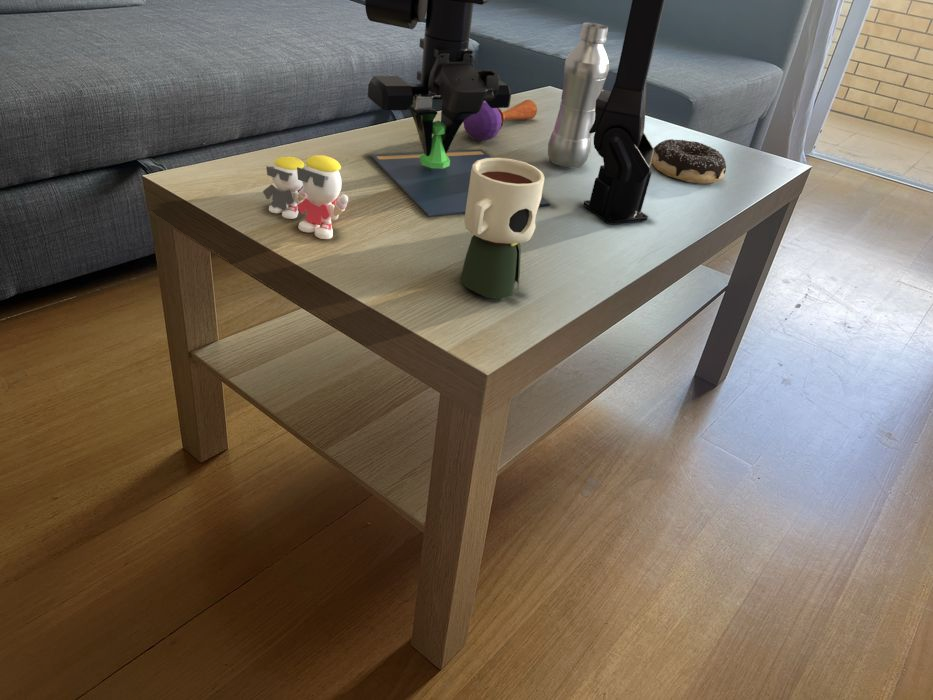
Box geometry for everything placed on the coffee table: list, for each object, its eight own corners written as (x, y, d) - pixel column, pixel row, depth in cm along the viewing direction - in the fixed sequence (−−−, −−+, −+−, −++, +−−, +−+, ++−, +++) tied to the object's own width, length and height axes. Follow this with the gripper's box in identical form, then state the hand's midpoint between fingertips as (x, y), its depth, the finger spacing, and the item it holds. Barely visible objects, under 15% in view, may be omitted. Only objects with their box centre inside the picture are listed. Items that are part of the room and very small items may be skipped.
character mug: (492, 321, 71) (515, 198, 64) (432, 295, 74) (447, 174, 66) (540, 280, 79) (565, 167, 72) (484, 258, 82) (503, 147, 75)
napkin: (480, 151, 111) (481, 149, 111) (549, 205, 97) (550, 202, 97) (370, 156, 103) (370, 154, 103) (428, 216, 89) (428, 213, 89)
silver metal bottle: (539, 165, 109) (566, 24, 98) (551, 153, 115) (579, 17, 103) (580, 176, 108) (612, 34, 96) (590, 163, 113) (623, 27, 102)
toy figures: (258, 207, 85) (256, 137, 80) (288, 198, 88) (288, 131, 83) (326, 246, 79) (327, 173, 75) (355, 235, 82) (359, 165, 78)
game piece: (446, 171, 100) (451, 127, 96) (416, 165, 100) (419, 122, 97) (452, 160, 103) (457, 118, 100) (423, 155, 103) (427, 113, 100)
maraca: (549, 101, 125) (495, 114, 109) (536, 133, 128) (482, 150, 112) (520, 85, 126) (463, 96, 110) (508, 118, 130) (451, 132, 114)
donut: (681, 156, 122) (688, 132, 120) (736, 183, 114) (745, 158, 112) (635, 162, 116) (642, 138, 114) (691, 191, 109) (699, 165, 106)
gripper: (404, 51, 82) (394, 181, 91) (541, 54, 90) (520, 173, 99) (369, 28, 90) (363, 150, 99) (498, 32, 98) (482, 144, 107)
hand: (434, 154), depth 101 cm, fingers closed on game piece, 2 cm apart
